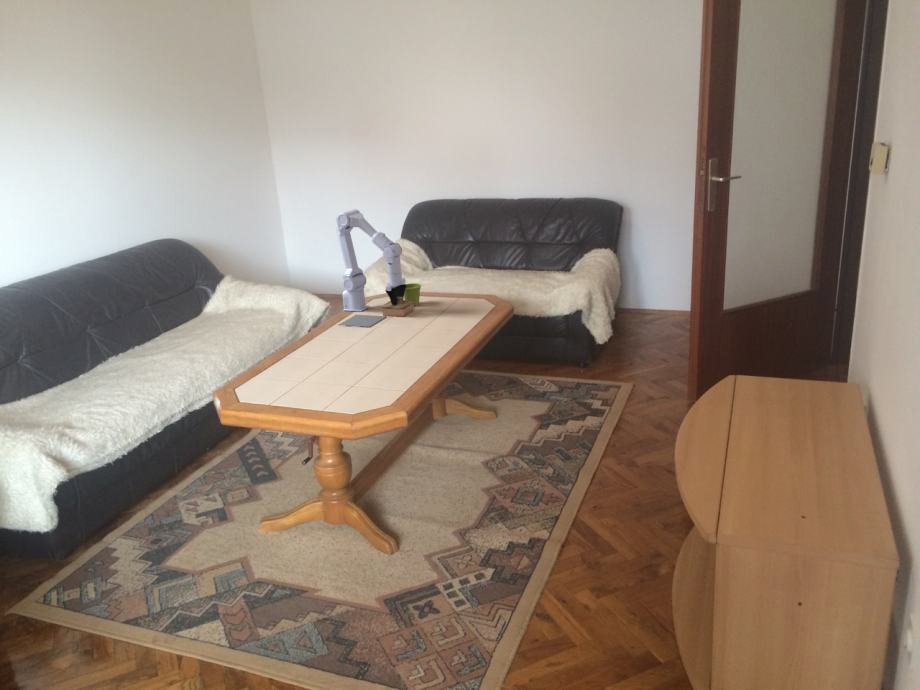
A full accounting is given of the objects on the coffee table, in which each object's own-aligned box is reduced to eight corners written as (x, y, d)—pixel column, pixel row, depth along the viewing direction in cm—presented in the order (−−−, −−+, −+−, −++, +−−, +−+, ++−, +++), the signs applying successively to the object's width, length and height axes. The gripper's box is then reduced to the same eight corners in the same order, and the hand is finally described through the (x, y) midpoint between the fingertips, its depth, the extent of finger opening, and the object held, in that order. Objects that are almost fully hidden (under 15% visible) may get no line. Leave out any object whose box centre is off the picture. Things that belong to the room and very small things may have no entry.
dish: (383, 315, 324) (382, 308, 323) (393, 309, 333) (392, 301, 332) (403, 317, 320) (403, 309, 319) (413, 310, 329) (413, 302, 328)
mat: (338, 325, 315) (338, 324, 314) (356, 315, 328) (356, 314, 327) (369, 327, 309) (369, 326, 309) (386, 317, 322) (386, 316, 322)
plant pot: (427, 302, 340) (425, 284, 337) (414, 308, 333) (413, 289, 330) (410, 300, 345) (408, 282, 342) (398, 306, 337) (396, 287, 335)
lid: (380, 308, 323) (379, 300, 322) (392, 301, 332) (391, 293, 331) (403, 309, 319) (402, 301, 317) (414, 302, 328) (414, 294, 327)
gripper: (395, 276, 313) (398, 307, 317) (410, 268, 326) (413, 298, 330) (380, 276, 316) (383, 307, 320) (395, 268, 328) (398, 298, 333)
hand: (397, 302), depth 325 cm, fingers open, 5 cm apart
